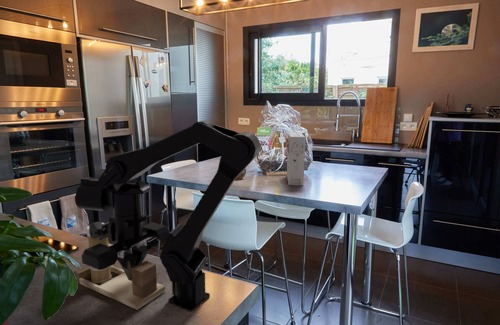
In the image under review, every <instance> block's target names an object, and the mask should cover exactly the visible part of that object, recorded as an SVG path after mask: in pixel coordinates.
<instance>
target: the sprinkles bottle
mask: <svg viewBox="0 0 500 325" xmlns="http://www.w3.org/2000/svg"><path fill="white" fill-rule="evenodd" d="M101 223H102V224H104V223H105V222H101ZM86 236H87V239H88V240H87V242H88V248H90V247H92V246H95V245H97V244H100V243H101V244H103V245H106V246H110V243H109V242H110V241H108V238H104V239H102V240H99V238H94V239H92V238H91V236H90V233H89V225H88V226H86ZM90 268H91V278H90V282H92V283H94V284H104V283H106V282H108V281H109V280H111V279H112V271H111V268H110V266H109V267H107V268H105V269H102V270H98V269H96V268H93V267H91V266H90Z"/></svg>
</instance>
